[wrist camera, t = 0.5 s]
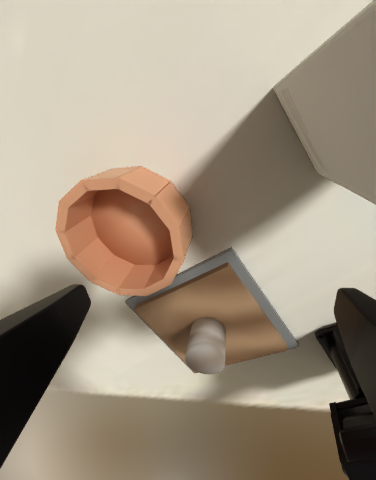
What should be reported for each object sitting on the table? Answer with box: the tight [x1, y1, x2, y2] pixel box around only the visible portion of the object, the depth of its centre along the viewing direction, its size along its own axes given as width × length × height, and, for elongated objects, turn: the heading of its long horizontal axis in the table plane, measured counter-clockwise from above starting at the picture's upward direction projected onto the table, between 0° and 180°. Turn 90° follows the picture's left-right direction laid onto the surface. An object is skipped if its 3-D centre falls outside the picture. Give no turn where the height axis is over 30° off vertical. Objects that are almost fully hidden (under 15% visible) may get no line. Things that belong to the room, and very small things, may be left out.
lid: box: [134, 262, 288, 374], centre depth 24 cm, size 13×13×5 cm
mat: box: [125, 247, 299, 370], centre depth 26 cm, size 15×15×1 cm
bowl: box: [56, 166, 193, 296], centre depth 20 cm, size 11×11×4 cm
